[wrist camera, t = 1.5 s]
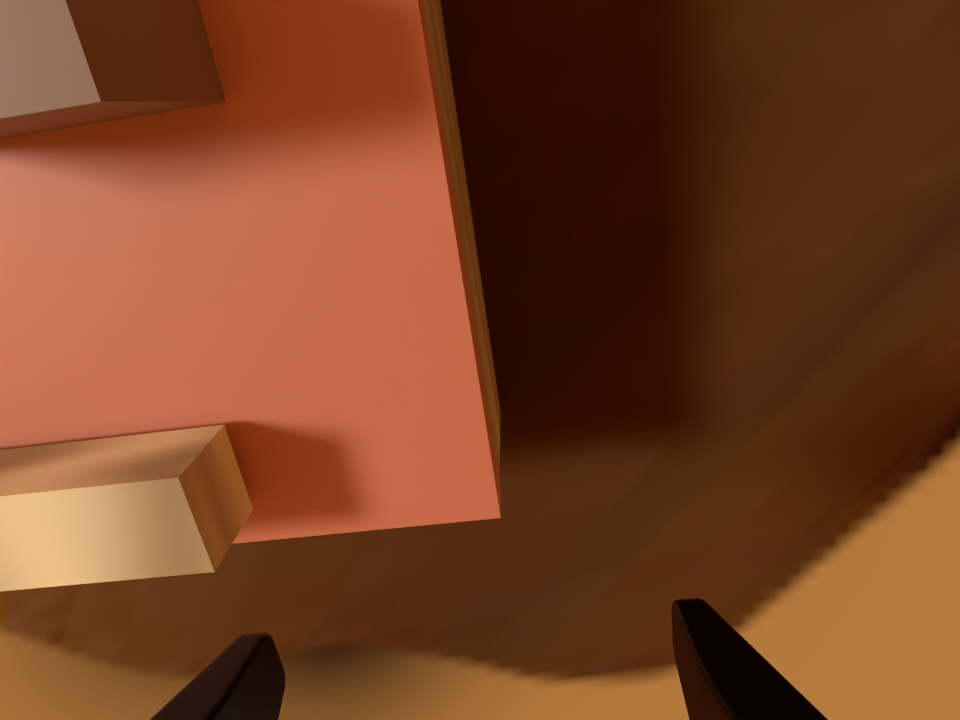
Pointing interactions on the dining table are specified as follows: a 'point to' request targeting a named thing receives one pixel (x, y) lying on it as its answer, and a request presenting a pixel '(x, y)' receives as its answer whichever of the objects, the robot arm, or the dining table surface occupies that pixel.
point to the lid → (243, 251)
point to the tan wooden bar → (119, 508)
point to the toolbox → (463, 212)
